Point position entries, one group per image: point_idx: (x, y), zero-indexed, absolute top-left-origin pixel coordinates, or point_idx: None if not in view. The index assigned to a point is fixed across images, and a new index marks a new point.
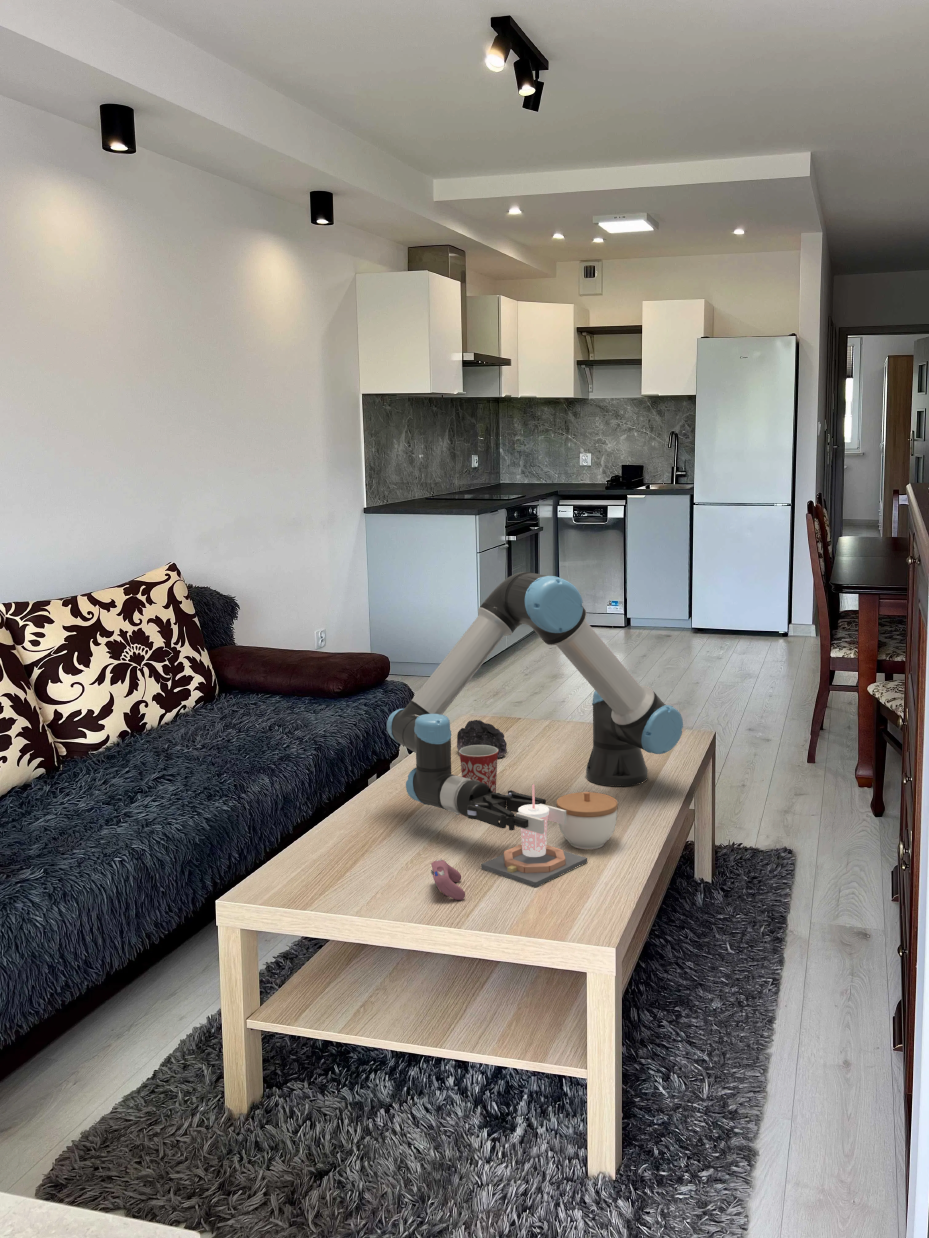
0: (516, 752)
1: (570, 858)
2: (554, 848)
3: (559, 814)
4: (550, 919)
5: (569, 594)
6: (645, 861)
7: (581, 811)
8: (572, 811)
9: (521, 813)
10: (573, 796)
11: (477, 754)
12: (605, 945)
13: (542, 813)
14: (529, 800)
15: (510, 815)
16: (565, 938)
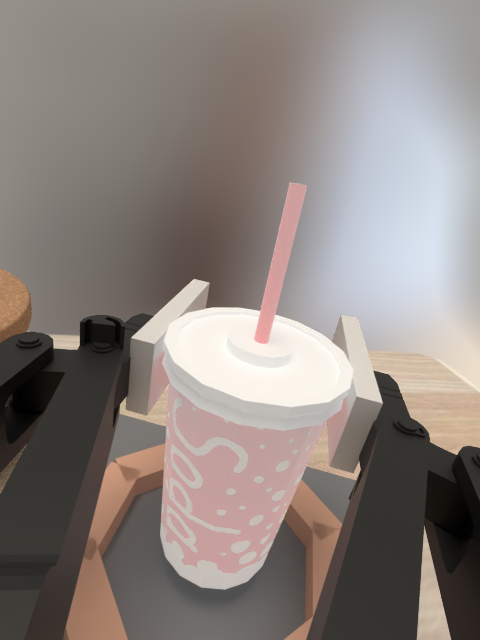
0: None
1: (134, 449)
2: (106, 488)
3: (200, 308)
4: (452, 423)
5: None
6: (75, 340)
7: (26, 305)
8: (10, 329)
9: (359, 380)
10: None
11: None
12: (429, 356)
13: (288, 319)
14: (53, 399)
15: (423, 430)
16: (471, 393)
